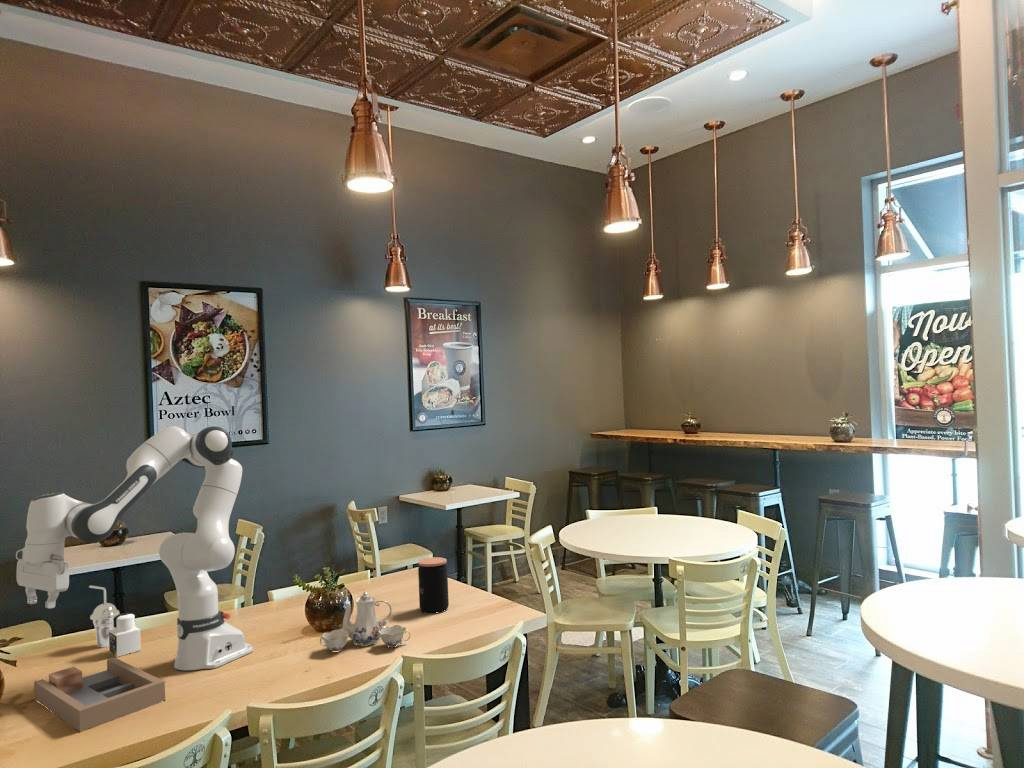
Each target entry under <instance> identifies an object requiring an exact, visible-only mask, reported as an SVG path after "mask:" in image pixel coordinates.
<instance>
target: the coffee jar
mask: <svg viewBox="0 0 1024 768" xmlns="http://www.w3.org/2000/svg"><path fill="white" fill-rule="evenodd" d="M447 560H448V559H446V558H444V557H440V556H439V557H437V556H435V557H426V558H422V559H420V560H418V561H417V563H418V566H419V567H418V569H417V574H418V576H417V577H418V595H419V597H418V598H419V599H418V600H419V603H418V604H419V609H420V611H421V610H422V611H421V612H422V613H424V612H426V613H425V614H428V613H435V614H437V613H436V612H441V613H443V612H442V611H444V610H446V609H447V610H448V608H449V606H450V605H449V603H450V602H449V601H450V600H449V580H448V578H449V577H448V565H447V562H448V561H447ZM447 610H446V611H447ZM444 612H445V611H444Z"/></svg>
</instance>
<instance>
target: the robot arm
mask: <svg viewBox="0 0 1024 768" xmlns="http://www.w3.org/2000/svg"><path fill="white" fill-rule="evenodd" d="M233 455H234V451H233V445H232V438H231V436H230V432H228V430H227V429H225V428H223V427H221V426H214V425H213V426H207V427H205V428H202V429H201V430H200V431H198V432H197V433H195V434H194V433H193V434H190V433H188V432H186V430H184V429H183V428H181V427H179V426H175V425H172V426H167V427H165V428H163V429H162V430H160V431H159V432H156V433H155V434H153V435H152V436H151V437H150V438H148V439H147V440H146V441H144V442H143V443H142V444H140V446H138V447H137V448H136V449H135V450H134V451H133V452H132V453H131V455H130V456H128V458H127V460H126V471H127V475H126V477H125V479H124V480H123V481H122V482H121V483H120V484H119V485H117V487H116V488H115V489H113V490H112V491H111V493H109V494H108V495H107V497H105V498H104V499H102V500H100V501H99V502H96V503H90V502H89V503H88V502H86V501H85V502H84V501H81V500H77V499H75V498H73V497H71V496H69V495H66V494H65V493H64V492H61V491H55V492H48V493H44V494H43V493H42V494H39V495H37V496H35V497H34V498H33V499H31V501H30V503H29V506H28V510H27V515H26V517H27V518H26V524H25V525H26V532H27V537H26V539H25V543H24V547H23V548H21V549H19V550H17V551H16V553H15V558H16V560H17V562H16V583H17V585H18V586H20V587H24V588H25V594H26V598H27V599H26V600H27V601H26V602H27V604H29V605H35V604H37V603H38V596H37V593H36V592H37V591H36V590H40V591H43V592H47V596H48V597H47V600H46V601H45V605H44V607H45V608H46V609H54V608H55V607H56V601H57V599H58V597H59V595H60V593H61V592H66V591H67V590H68V589H69V585H70V567H69V564H68V563H67V562H66V560H65V559H64V557H65V556H64V555H65V544H66V542H65V540H66V538H68V537H73V538H76V539H79V540H80V541H83V542H85V543H93V544H95V543H99V542H102V541H104V540H106V539H107V538H108V537H110V536H111V535H112V534H113V533H114V531H115V529H116V527H117V526H118V524H119V522H120V520H121V518H122V517H123V515H124V514H125V513H126V512H127V511H128V510H129V509H130V508H131V506H133V505H134V504H135V503H136V502H137V501H138V500H139V499H140V498H141V497H142V496H143V494H145V493H146V492H147V491H148V490H149V489H150V487H152V485H153V484H155V483H156V482H157V481H158V480H159V479H161V478H162V477H163V476H164V475H165V474H167V472H169V471H170V470H171V469H172V468H173V467H174V466H175V465H177V464H178V463H179V462H180V461H183V462H185V463H187V464H189V465H190V466H192V467H195V468H204V469H205V476H204V480H203V482H202V484H201V486H200V488H199V492H198V495H197V497H196V499H195V503H194V504H193V508H192V513H193V515H194V517H195V518H196V519H197V520H196V521H197V524H196V531H195V532H179V533H175V534H171V535H169V536H167V537H166V538H165V539H164V540H162V542H161V544H160V547H159V549H158V555H159V559H160V560H161V562H162V563H163V564H164V566H165V567H167V569H168V570H169V573H170V575H171V578H172V580H173V582H174V585H175V590H176V594H177V608H178V610H177V611H178V617H177V619H176V622H177V623H176V625H177V627H176V631H177V632H176V633H177V638H178V641H177V648H176V649H177V651H176V655H175V660H174V663H173V667H174V669H176V670H179V671H196V670H203V669H207V670H208V669H211V670H212V669H217V668H218V667H221V666H223V665H226V664H229V663H230V662H232V661H235V660H237V659H239V658H241V657H243V656H246V655H248V654H250V653H252V652H254V647H253V645H252V644H250V643H248V642H246V640H245V636H244V633H243V631H242V630H241V629H239V628H237V627H235V626H234V625H231V624H230V623H228V622H226V621H225V620H229V619H231V616H232V613H231V612H229V611H221V610H219V590H218V586H217V584H216V582H214V581H213V579H212V578H211V576H209V573H208V572H213V571H219V570H224V569H226V568H227V567H229V566H230V564H231V563H232V561H234V560H233V559H234V557H235V552H236V550H235V549H236V547H235V545H234V542H233V541H232V539H231V537H230V534H229V533H230V532H229V525H230V524H229V523H230V518H231V514H232V511H233V508H234V505H235V502H236V499H237V496H238V494H239V489H240V486H241V482H242V476H243V466H242V465H241V463H240V462H238V461H237V460H235V459H233Z"/></svg>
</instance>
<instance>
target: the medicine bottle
mask: <svg viewBox="0 0 1024 768" xmlns="http://www.w3.org/2000/svg"><path fill="white" fill-rule="evenodd" d="M113 623H114V630H110V631H109V646H108V647H109V648H108V649H109V653H110V654H112V655H113V656H114V657H115V658H120V657H123V656H127V655H129V653H131V654H133V652H134V653H137V652H136V651H138V652H140V651H141V647H142V646H141V629H140V628H139V627H137V626H136V614H134V612H133V613H132V612H124V613H120V614H119V615H117V616H115V617H114V618H113ZM126 654H127V655H126ZM122 655H123V656H122ZM119 656H120V657H119Z"/></svg>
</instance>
